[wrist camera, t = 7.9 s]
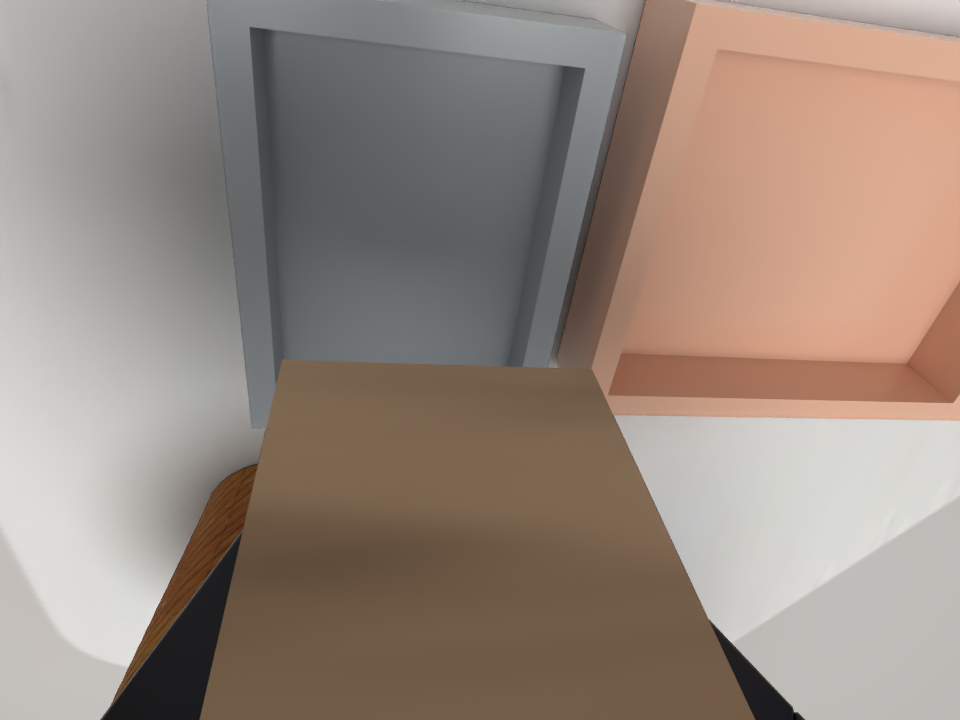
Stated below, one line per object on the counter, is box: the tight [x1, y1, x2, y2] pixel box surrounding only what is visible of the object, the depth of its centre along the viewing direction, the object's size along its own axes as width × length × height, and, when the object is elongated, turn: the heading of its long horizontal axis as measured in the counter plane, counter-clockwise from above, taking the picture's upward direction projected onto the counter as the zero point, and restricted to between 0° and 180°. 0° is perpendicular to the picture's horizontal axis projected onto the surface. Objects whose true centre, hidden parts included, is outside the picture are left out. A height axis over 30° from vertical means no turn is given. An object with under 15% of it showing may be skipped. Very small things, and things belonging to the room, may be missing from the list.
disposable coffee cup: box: [111, 465, 258, 705], centre depth 20 cm, size 10×10×12 cm
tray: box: [206, 0, 627, 428], centre depth 17 cm, size 12×9×2 cm
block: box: [200, 360, 755, 720], centre depth 8 cm, size 4×4×6 cm
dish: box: [557, 0, 960, 421], centre depth 19 cm, size 12×15×3 cm
